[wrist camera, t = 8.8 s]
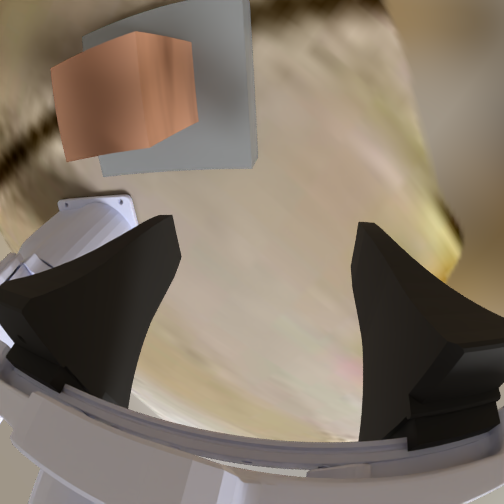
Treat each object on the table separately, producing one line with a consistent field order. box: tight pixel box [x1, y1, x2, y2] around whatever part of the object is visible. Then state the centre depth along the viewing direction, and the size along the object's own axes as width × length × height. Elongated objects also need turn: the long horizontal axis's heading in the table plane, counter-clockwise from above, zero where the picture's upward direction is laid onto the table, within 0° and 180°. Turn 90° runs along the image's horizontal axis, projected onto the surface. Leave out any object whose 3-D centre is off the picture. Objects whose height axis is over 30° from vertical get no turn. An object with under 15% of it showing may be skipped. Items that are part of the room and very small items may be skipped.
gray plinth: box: [82, 0, 258, 177], centre depth 15 cm, size 11×11×2 cm
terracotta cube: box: [51, 31, 199, 162], centre depth 11 cm, size 5×5×6 cm
